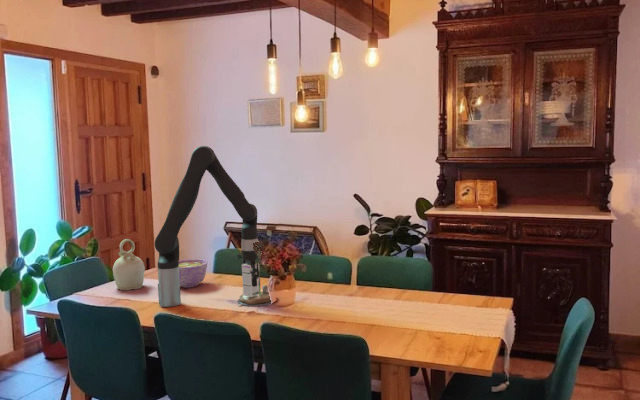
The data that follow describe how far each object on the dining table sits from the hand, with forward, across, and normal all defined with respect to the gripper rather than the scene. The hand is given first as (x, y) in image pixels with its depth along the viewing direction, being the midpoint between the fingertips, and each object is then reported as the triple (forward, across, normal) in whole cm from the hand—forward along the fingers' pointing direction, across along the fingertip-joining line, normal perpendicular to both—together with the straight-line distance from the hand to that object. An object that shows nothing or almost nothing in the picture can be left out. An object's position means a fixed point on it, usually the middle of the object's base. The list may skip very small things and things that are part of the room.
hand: (251, 284), depth 272 cm
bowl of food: (+9, +47, +17) cm, 51 cm away
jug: (+9, +60, +44) cm, 75 cm away
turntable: (+8, +1, -3) cm, 9 cm away
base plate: (+8, +1, -3) cm, 9 cm away
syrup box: (+5, 0, 0) cm, 5 cm away
